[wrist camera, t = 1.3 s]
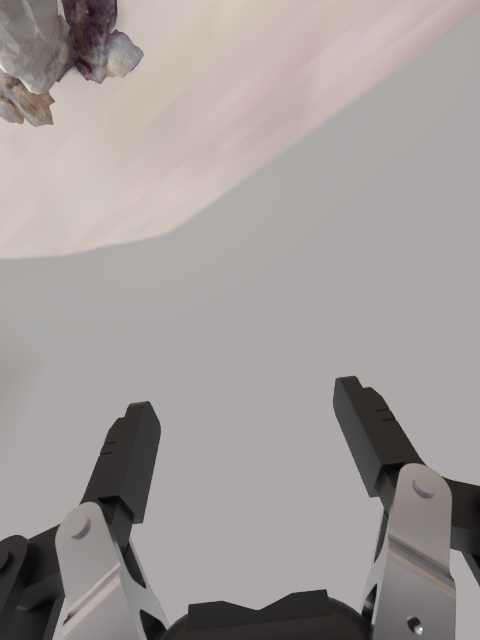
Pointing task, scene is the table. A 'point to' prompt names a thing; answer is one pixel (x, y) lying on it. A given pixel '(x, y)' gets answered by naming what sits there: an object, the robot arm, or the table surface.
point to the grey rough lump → (56, 51)
